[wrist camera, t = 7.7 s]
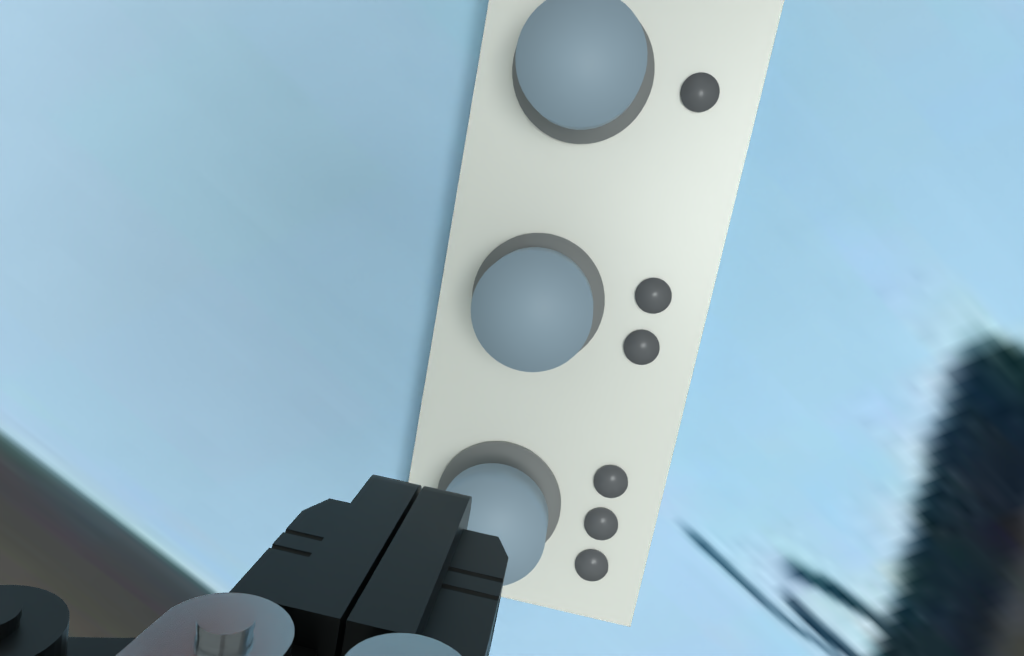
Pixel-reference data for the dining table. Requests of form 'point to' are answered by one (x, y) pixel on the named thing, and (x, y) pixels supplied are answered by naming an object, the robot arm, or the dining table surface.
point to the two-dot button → (532, 309)
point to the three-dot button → (506, 513)
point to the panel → (595, 285)
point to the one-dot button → (581, 61)
